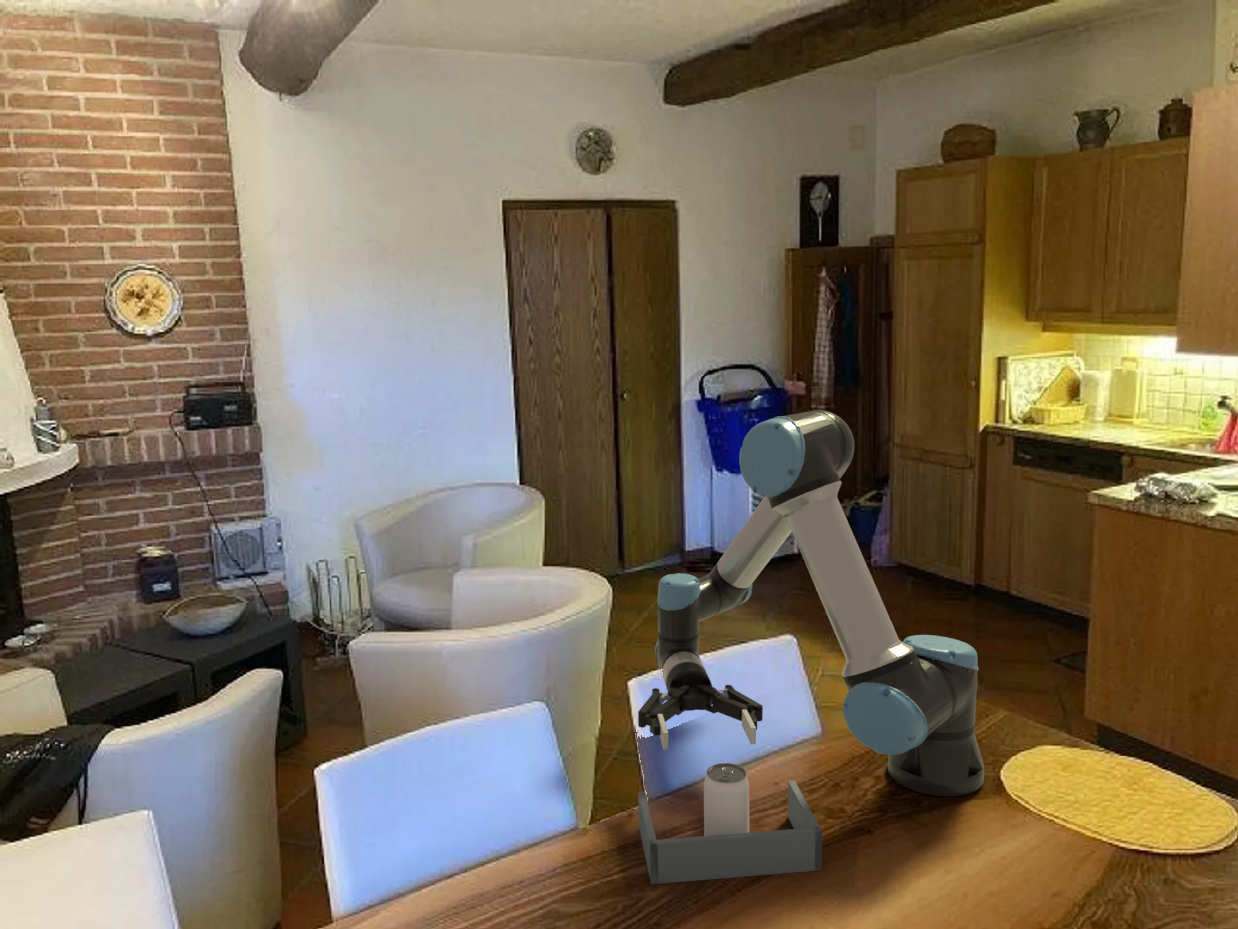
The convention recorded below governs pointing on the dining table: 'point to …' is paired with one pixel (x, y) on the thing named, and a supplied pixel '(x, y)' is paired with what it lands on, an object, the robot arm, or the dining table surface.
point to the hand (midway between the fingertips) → (709, 738)
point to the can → (726, 800)
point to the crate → (734, 848)
